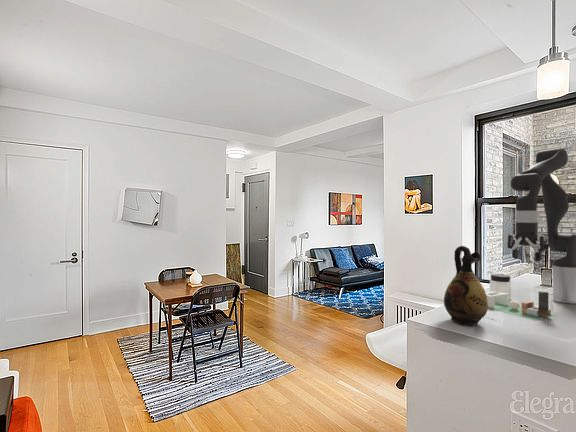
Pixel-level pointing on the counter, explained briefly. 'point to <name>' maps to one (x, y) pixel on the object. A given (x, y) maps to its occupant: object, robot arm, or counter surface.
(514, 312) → the pitch mat
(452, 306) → the ceramic jug
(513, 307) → the ball
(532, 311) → the bracket
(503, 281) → the jar
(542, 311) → the wooden peg with knob
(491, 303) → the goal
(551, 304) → the counter surface
